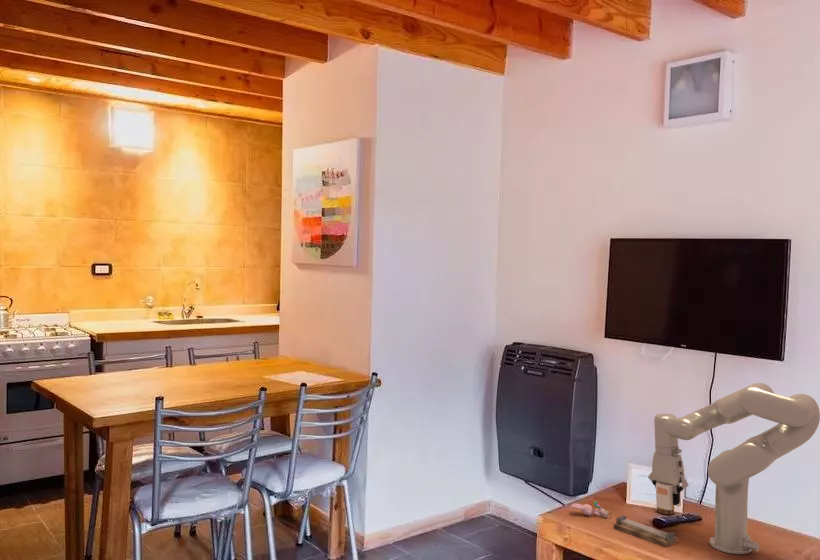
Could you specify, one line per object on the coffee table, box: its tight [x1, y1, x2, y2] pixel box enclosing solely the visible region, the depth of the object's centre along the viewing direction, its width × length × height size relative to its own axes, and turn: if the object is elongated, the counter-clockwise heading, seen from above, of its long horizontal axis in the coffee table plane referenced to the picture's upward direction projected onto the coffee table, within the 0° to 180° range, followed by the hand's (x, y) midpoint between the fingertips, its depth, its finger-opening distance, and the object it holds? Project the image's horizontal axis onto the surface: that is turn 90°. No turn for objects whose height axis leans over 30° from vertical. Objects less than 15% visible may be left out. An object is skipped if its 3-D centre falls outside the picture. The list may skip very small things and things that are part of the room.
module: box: [655, 482, 682, 510], centre depth 235 cm, size 5×7×8 cm
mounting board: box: [613, 522, 678, 548], centre depth 232 cm, size 20×7×2 cm, turn 38°
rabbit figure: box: [569, 501, 613, 519], centre depth 249 cm, size 6×6×15 cm
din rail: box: [615, 515, 676, 541], centre depth 232 cm, size 20×4×2 cm, turn 38°
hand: (668, 501), depth 235 cm, fingers closed on module, 5 cm apart
